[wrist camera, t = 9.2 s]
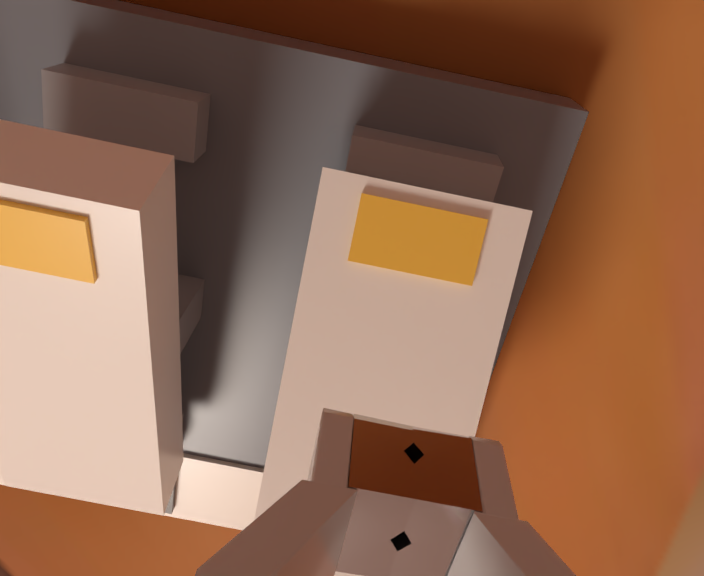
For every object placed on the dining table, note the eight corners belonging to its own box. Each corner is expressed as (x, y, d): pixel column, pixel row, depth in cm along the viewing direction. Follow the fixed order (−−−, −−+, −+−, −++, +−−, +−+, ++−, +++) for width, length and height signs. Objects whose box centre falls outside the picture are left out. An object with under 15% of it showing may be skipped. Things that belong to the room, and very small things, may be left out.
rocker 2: (326, 168, 16) (322, 166, 14) (510, 206, 16) (534, 211, 14) (247, 572, 18) (233, 623, 16) (412, 603, 18) (419, 657, 16)
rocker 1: (-66, 105, 13) (-140, 159, 11) (174, 155, 13) (136, 215, 11) (36, 431, 21) (3, 489, 19) (183, 460, 21) (162, 520, 19)
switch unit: (-259, -82, 17) (-460, -97, 13) (569, 98, 18) (620, 135, 14) (-144, 413, 26) (-245, 498, 22) (420, 521, 26) (425, 622, 22)
